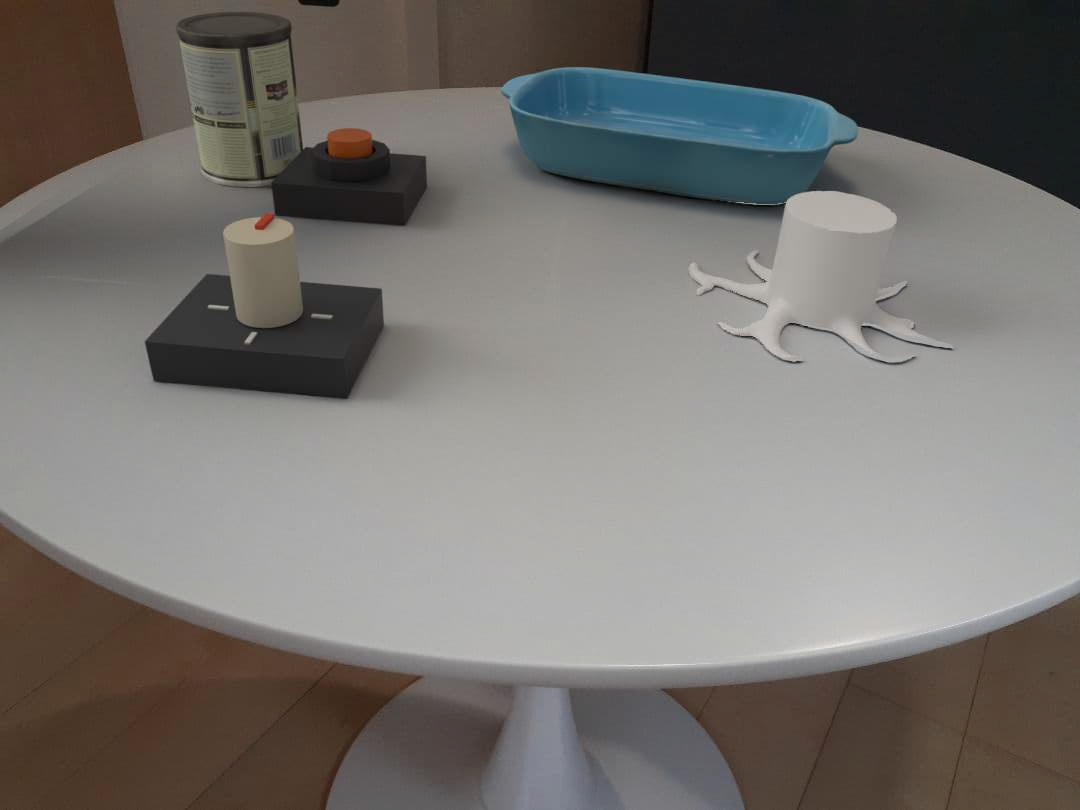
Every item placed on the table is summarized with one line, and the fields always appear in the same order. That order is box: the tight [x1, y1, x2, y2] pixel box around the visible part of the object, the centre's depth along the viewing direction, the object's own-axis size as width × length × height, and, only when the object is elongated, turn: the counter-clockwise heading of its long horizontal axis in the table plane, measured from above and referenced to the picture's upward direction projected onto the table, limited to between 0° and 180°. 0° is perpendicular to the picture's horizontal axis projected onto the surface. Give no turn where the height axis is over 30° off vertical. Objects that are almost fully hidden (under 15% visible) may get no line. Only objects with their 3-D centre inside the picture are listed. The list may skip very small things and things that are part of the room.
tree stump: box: [688, 190, 927, 360], centre depth 71 cm, size 20×19×8 cm
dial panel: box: [144, 273, 385, 399], centre depth 63 cm, size 13×10×3 cm
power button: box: [326, 127, 373, 158], centre depth 85 cm, size 4×4×2 cm
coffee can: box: [175, 11, 304, 188], centre depth 89 cm, size 10×10×14 cm
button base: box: [270, 139, 428, 227], centre depth 86 cm, size 12×10×5 cm
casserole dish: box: [501, 66, 859, 204], centre depth 97 cm, size 37×22×7 cm, turn 74°
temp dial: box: [222, 212, 303, 328], centre depth 61 cm, size 4×4×6 cm
